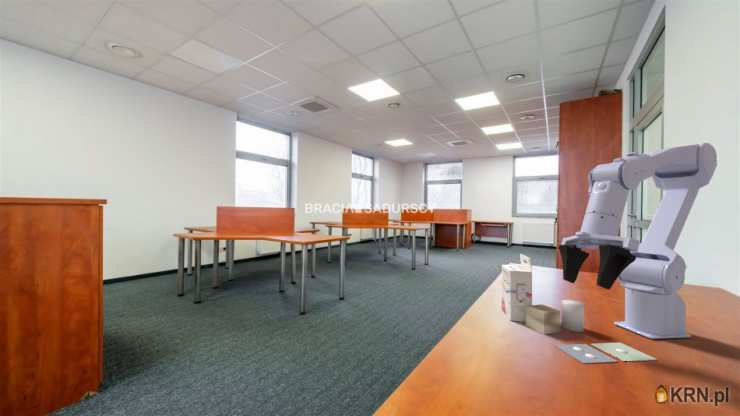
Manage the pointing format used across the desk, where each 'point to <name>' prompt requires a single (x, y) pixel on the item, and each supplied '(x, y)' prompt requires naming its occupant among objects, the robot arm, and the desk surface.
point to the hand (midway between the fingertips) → (584, 284)
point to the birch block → (543, 318)
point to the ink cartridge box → (517, 289)
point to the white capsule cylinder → (572, 315)
